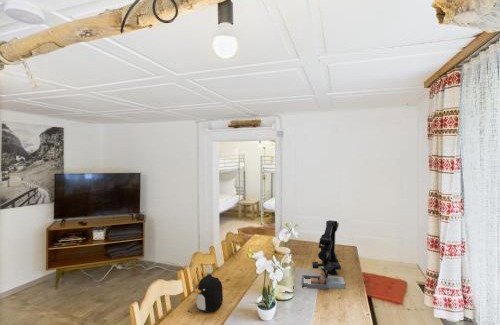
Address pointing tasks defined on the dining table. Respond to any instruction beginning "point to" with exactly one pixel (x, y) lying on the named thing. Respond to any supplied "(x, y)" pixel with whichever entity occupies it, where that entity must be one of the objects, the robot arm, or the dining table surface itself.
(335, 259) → the robot arm
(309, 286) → the tray
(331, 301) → the dining table surface
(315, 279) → the tile
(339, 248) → the dining table surface
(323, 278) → the tile
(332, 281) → the light grey slab
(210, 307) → the penguin
